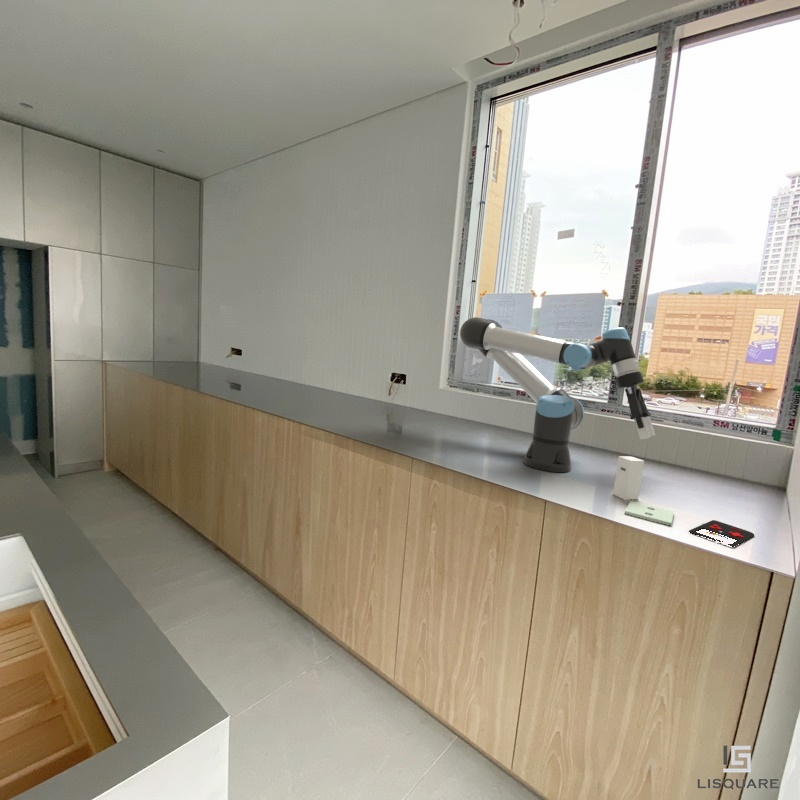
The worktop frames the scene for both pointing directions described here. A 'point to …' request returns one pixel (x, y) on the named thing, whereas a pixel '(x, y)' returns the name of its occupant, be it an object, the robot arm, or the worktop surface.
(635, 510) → the outlet plate
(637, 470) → the block
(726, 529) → the handheld gaming device
